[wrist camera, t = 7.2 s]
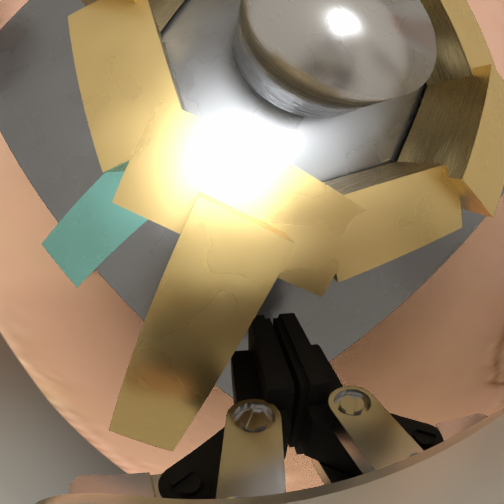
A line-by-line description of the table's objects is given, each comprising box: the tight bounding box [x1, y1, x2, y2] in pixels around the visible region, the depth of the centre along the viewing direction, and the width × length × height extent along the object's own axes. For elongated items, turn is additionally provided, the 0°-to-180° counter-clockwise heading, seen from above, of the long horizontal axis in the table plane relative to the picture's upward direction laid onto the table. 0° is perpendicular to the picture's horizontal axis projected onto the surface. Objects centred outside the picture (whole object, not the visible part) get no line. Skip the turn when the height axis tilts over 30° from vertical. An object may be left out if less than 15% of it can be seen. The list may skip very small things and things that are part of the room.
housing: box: [0, 0, 504, 399], centre depth 8 cm, size 24×25×6 cm
